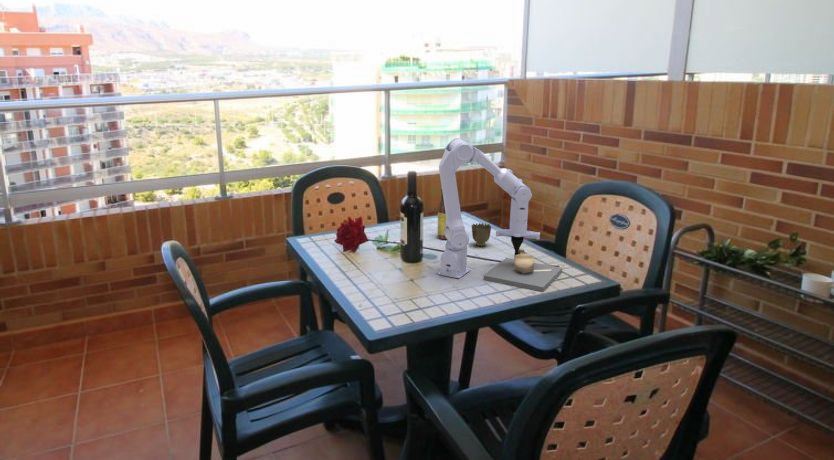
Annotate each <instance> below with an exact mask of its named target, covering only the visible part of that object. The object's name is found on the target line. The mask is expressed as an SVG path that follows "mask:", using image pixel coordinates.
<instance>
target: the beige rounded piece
mask: <svg viewBox="0 0 834 460" xmlns="http://www.w3.org/2000/svg"><path fill="white" fill-rule="evenodd" d="M514 255H515V254H514ZM514 259H515V260H514V269H515V270H517V271H520V272H531V271H533V270H534V263H535V256H533V255H531V254H528V253H526V251H525V248H519V250H518V255H515V258H514Z"/></svg>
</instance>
